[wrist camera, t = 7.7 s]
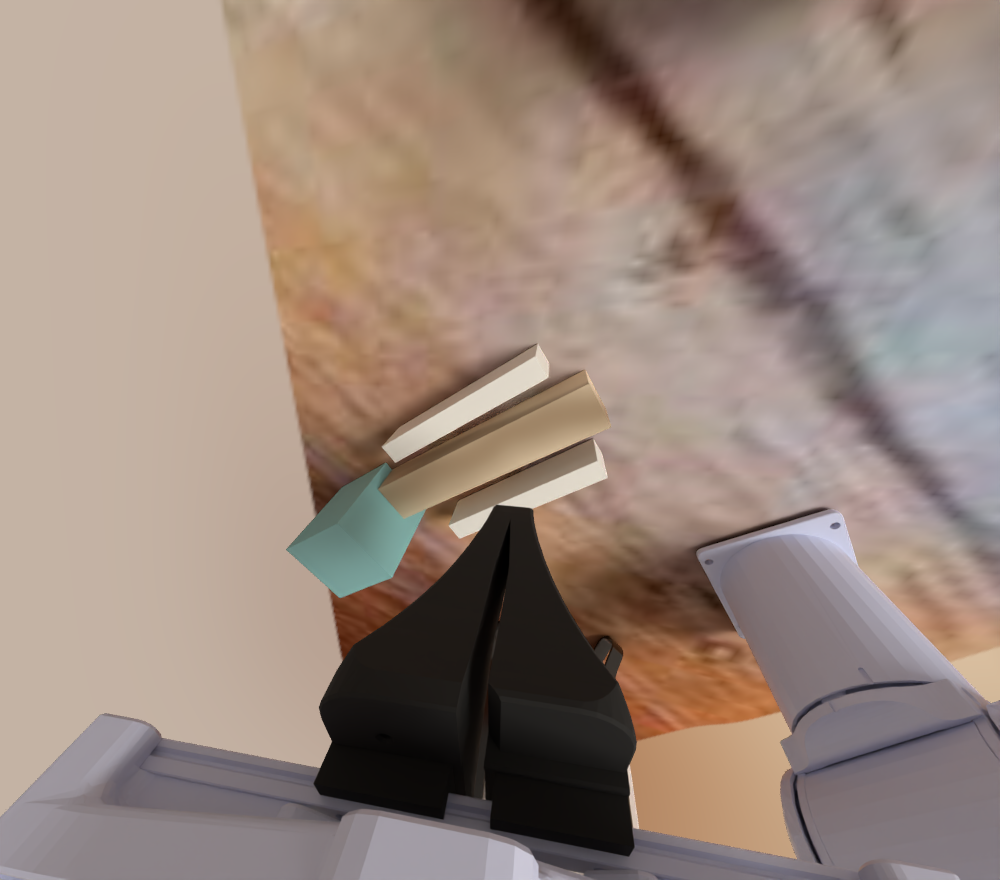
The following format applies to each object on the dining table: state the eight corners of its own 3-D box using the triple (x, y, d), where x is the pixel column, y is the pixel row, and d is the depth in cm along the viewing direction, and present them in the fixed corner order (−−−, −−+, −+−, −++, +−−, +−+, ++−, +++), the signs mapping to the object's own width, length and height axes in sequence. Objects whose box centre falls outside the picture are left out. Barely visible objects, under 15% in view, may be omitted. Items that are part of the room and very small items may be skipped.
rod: (605, 406, 20) (611, 427, 18) (417, 494, 25) (403, 518, 23) (584, 367, 19) (588, 383, 17) (394, 466, 24) (377, 489, 22)
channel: (602, 454, 21) (607, 477, 19) (468, 513, 25) (459, 538, 22) (537, 343, 18) (535, 356, 16) (398, 427, 22) (381, 446, 20)
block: (426, 508, 25) (392, 577, 20) (382, 529, 27) (339, 598, 21) (386, 462, 24) (337, 523, 18) (342, 487, 25) (286, 549, 20)
